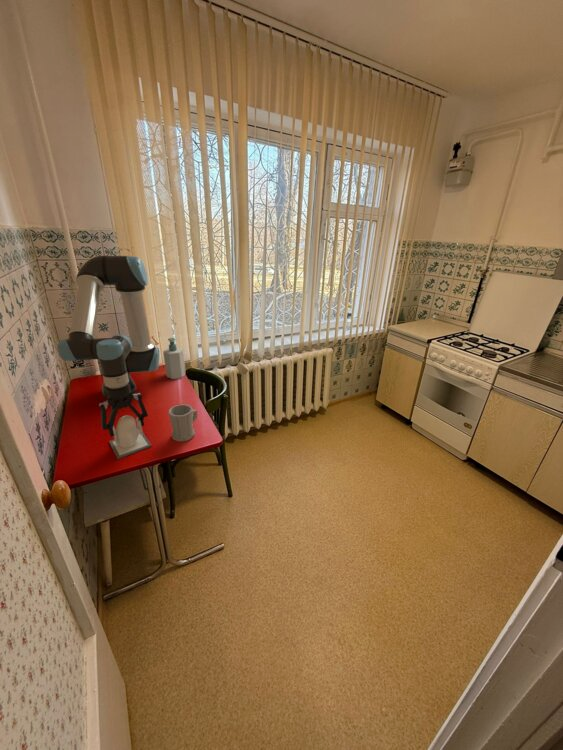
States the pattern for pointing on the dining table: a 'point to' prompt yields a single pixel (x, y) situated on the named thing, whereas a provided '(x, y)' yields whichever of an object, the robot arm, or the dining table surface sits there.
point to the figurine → (127, 431)
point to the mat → (122, 452)
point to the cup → (182, 422)
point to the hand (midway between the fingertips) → (129, 437)
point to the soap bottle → (174, 361)
